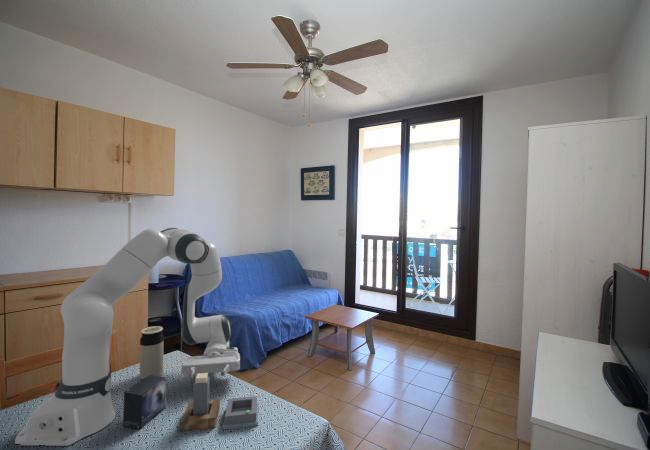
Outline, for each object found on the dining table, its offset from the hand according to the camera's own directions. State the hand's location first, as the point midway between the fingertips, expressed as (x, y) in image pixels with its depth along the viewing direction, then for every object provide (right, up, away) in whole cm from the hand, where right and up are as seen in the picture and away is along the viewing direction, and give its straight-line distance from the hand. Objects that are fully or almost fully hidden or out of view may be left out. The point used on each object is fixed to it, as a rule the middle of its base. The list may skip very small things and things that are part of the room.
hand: (208, 374), depth 106 cm
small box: (-15, -8, -11) cm, 20 cm away
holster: (+2, -8, -12) cm, 14 cm away
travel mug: (-27, -7, +14) cm, 32 cm away
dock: (+14, -8, -10) cm, 19 cm away
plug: (+2, -8, -12) cm, 14 cm away
